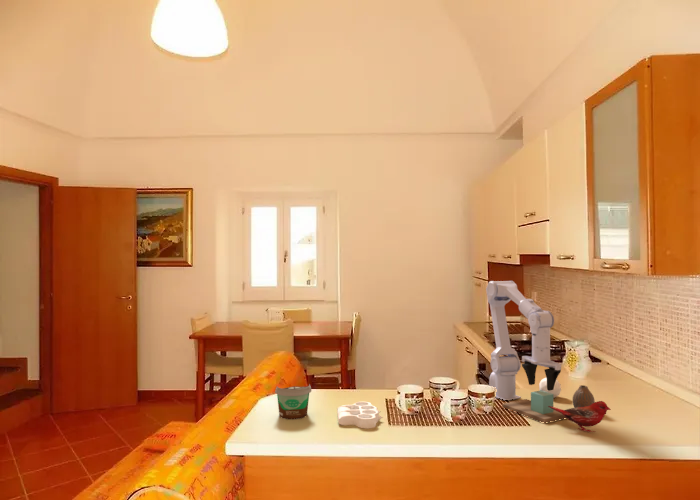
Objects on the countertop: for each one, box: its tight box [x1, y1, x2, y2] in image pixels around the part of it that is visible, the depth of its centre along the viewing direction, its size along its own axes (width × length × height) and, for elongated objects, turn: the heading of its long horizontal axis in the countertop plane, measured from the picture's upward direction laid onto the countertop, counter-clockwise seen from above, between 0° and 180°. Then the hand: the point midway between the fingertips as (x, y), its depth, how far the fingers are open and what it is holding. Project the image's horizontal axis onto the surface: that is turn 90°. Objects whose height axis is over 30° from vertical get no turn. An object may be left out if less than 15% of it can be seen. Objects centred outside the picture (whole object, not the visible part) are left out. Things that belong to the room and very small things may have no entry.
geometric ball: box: [538, 377, 562, 399], centre depth 186 cm, size 8×8×8 cm
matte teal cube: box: [530, 389, 554, 414], centre depth 165 cm, size 5×5×6 cm
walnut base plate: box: [501, 399, 566, 424], centre depth 167 cm, size 18×12×5 cm, turn 29°
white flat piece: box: [336, 401, 384, 429], centre depth 161 cm, size 3×18×15 cm
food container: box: [274, 383, 312, 420], centre depth 162 cm, size 12×6×10 cm, turn 105°
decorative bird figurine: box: [548, 400, 611, 433], centre depth 151 cm, size 3×18×10 cm, turn 61°
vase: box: [572, 384, 596, 408], centre depth 169 cm, size 7×7×9 cm
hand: (540, 387), depth 165 cm, fingers open, 7 cm apart
